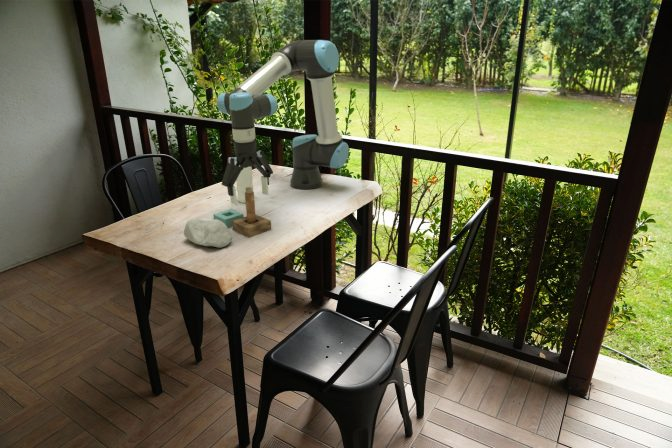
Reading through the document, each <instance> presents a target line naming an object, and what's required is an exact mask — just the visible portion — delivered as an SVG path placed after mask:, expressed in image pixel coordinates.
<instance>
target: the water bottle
mask: <svg viewBox="0 0 672 448" xmlns="http://www.w3.org/2000/svg"><path fill="white" fill-rule="evenodd" d="M235 162H236V161H235ZM236 163H237V162H236ZM236 163H235V164H234V166H235V165H236ZM239 167H240V165H239ZM252 167H253V166H251V167H247V168H243V170H242V171H241V172H240V174H239V176H238V178H237V180H236V182H235V184H236V197H237V202H238V203H241V204H246V202H245V192H246V189H245V188H247V187H252V190H253V191H254V183H253V181H254V179H253V168H252Z"/></svg>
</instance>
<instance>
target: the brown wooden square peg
mask: <svg viewBox="0 0 672 448" xmlns="http://www.w3.org/2000/svg"><path fill="white" fill-rule="evenodd" d="M245 189H246V192H245V202H246V203H245V212H246V216H247V223H248V224H252V223H255V222H256V215H257V214H256V205H255V204H256V203H255V202H256V201H255V192H254V189H253V190H252V187H247V188H245Z"/></svg>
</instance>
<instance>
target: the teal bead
mask: <svg viewBox="0 0 672 448" xmlns="http://www.w3.org/2000/svg"><path fill="white" fill-rule="evenodd" d="M243 217H244V213H242V212H240V211H238V210H235V209H233V208H229V209H225V210H223V211H219V212H217V213H213V220H215V219H217V220H220V221H222V222H223V223H224V224H225V225H226V226H227V228H228V229H229V228H233V226H232V221H234V220H237V219H240V218H243Z"/></svg>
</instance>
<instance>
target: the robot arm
mask: <svg viewBox="0 0 672 448" xmlns="http://www.w3.org/2000/svg"><path fill="white" fill-rule="evenodd" d="M339 63H340V55H339V51H338V48H337V47H336V45H335V44H334V43H333V42H332V41H330V40H325V39H297V40H294V41H291V42H289V43H287V44H285V45H283V46H281V48H279V49H277V50H276V51H275V52H273V53H272V54H271V56H270V59H269V60H268V61H267V62H266V63H264V65H262V66H261V67H260V68H259V69H257V70H256V71H255V72H254V73H252V74H251V75H250V76H249V77H248V78H246V79H245V80H244V81H243V82H242V83H240V85H238V86H237V87H236V88H234V89H233V90H232V91H231V92H221V93H220V94H219V95H218V96H217V99H216V106H217V109H218V111H219V112H220V113H222V114H226V115H229V116H230V121H231V127H232V129H231V131H232V132H231V133H232V140H233V148H234V149H233V150H234V153H235V154H234V155H235V156H234V157H231V156H228V157H227V159H226V160H227V161H226V167H225V171H224V173H223V177H222V179H221V186H223V187H226V189H227V195H228V196H229V197H230V203H231V204H232V205H235V206H237V205H238V199H237V187H236V186H234V185H235V184H236V180H237V178H238V176H239V174H240V172H241V171H242V170H243V168H247V167H254V168H255V169H256V170H257V171H258V172H259V173H260V174H261V175H262V176H260V180H261V193H262V194H263V195H265V196H268V195H269V185H270V178H271V175H273V174H274V171H273V169H272V167H271V165H270V164H269V162H268V160H267V158H266V156H265V151H263V150H261V149H257V140H255V139H256V128H255V125H256V124H255V120H259V119H264V118H269V117H270V116H272V115H275V114H276V113H277V111H278V101H277V99H276V97H275V96H274V95H273V94H270V93H266V94H265V91H267V90H268V89H269V88H270V87H271V86H273V85H274V84H275V83H276V82H277V81H278V80H280V79H281V77H283V76H288V75H289V74H290V73H291V72H296V71H302V72H305V76H306V79H307V80H309V81H310V86H311V92H312V100H313V106H314V112H315V113H314V114H315V120H316V129H317V134H318V135H317V134H304V135H300V136H295V137H293V139H292V146H291V148H292V162H293V163H292V164H293V170H292V172H291V173H292V174H291V178H290V183H289V184H290V185H289V186H290V187H292V188H293V189H299V190H312V189H313V190H314V189H317V188H319V187H322V186H323V178H322V175H321V172H320V169H319V167H325V168H327V167H328V168H330V169H340V168H342V167H344V166H345V164H346V162H347V161H348V157H349V151H350V149H349V145H348V143H347V142H345V141H344V140H343V135H342V134H340V133H339V129H338V123H337V122H338V121H337V113H336V105H335V97H334V96H335V95H334V88H333V79H332V78H334V76H335V75H336V73H335V72H336V71H337V70H338V68H339ZM257 158H258V160H259V161H260V162H261V164H260V162H259V161H257ZM235 161H236V162H237V163H236V162H235ZM235 163H236V165H235ZM239 165H240V167H239Z"/></svg>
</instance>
